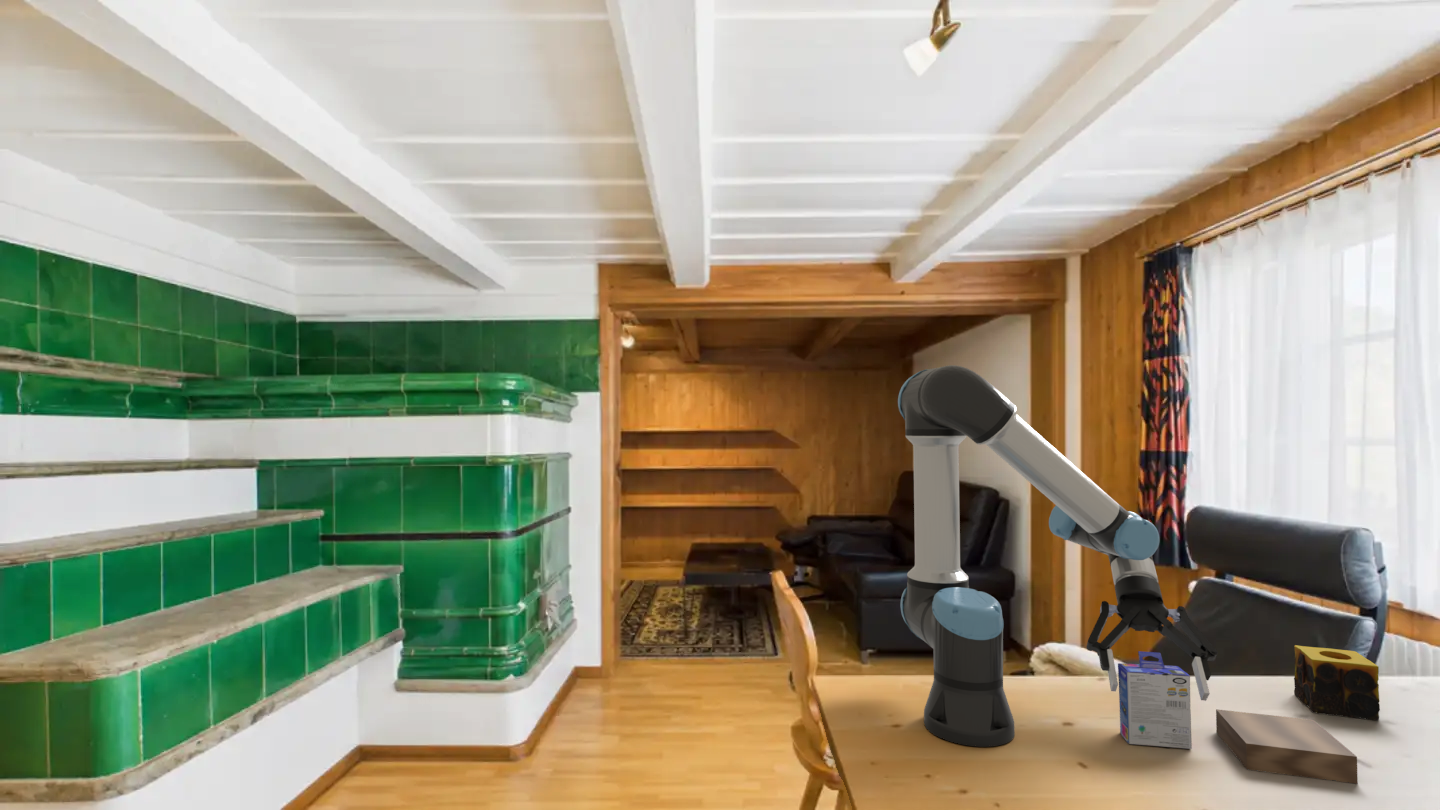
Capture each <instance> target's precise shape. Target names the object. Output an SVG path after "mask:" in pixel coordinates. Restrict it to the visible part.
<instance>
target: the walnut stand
mask: <svg viewBox="0 0 1440 810" xmlns="http://www.w3.org/2000/svg"><path fill="white" fill-rule="evenodd" d="M1215 714H1216V715H1215V717H1216V719H1215V721H1216V723H1215V724H1216V726H1215V727H1216V729H1215V730H1216V734H1217V733H1218V734H1217V735H1218V736H1219V737H1220V738H1221V740H1222V741H1223V742H1224V743H1225V745H1226V744H1227V745H1228V746H1227V747H1228V749H1229V750H1231V752H1232V753H1233V754H1234V756H1235V757H1236V756H1237V757H1236V758H1237V759H1238V760H1239V762H1240V761H1241V762H1240V763H1241V764H1242V765H1243V766H1244V768H1245V769H1246V770H1248V769H1249V770H1250V771H1256V770H1258V772H1263V771H1266V772H1265V773H1273V774H1280V775H1286V774H1287V775H1288V776H1293V777H1295V776H1296V777H1303V778H1309V777H1311V779H1317V778H1318V779H1319V780H1325V779H1326V781H1332V780H1336V781H1335V782H1341V783H1348V782H1349V783H1350V784H1355V785H1356V784H1358V781H1359V780H1358V756H1357V755H1356V754H1355V753H1353V752H1352V751H1351V750H1350V749H1348V748H1347V747H1346V746H1345V745H1344V744H1342V742H1340V741H1339V740H1338V739H1337V738H1335V737H1334V736H1333V735H1332V734H1331V733H1330V732H1329V731H1327V730H1326V729H1325V728H1324V727H1323V726H1321V725H1320V724H1319V723H1318V722H1317V721H1315V720H1314V719H1310V718H1309V719H1308V718H1300V717H1293V716H1292V717H1290V716H1289V717H1288V716H1282V715H1281V716H1279V715H1273V714H1261V713H1254V712H1243V711H1235V710H1225V709H1216V708H1215ZM1287 775H1286V776H1287Z"/></svg>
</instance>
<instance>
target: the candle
mask: <svg viewBox="0 0 1440 810" xmlns="http://www.w3.org/2000/svg"><path fill="white" fill-rule="evenodd" d="M1379 670H1380V669H1379V666H1378V665H1377V664H1375V663H1374V662H1372V661H1371V660H1369V659H1367V658H1366V657H1365V656H1363V655H1362V654H1360V653H1358V652H1357V651H1355V650H1349V649H1348V650H1347V649H1336V648H1330V647H1329V648H1328V647H1327V648H1326V647H1314V646H1304V645H1296V644H1295V645H1294V677H1293V681H1294V690H1293V695H1294V696H1295V697H1296V698H1297V699H1298V700H1299V701H1300V702H1301V703H1302V704H1303V705H1305V706H1306V707H1308V706H1309V707H1308V709H1309V711H1310V712H1312V713H1314V714H1321V715H1323V714H1324V715H1327V714H1328V716H1334V717H1335V716H1336V717H1347V718H1352V719H1361V720H1362V719H1364V720H1369V721H1371V720H1372V721H1379V720H1380V714H1379V713H1380V712H1381V709H1380V708H1381V707H1380V702H1381V701H1380V691H1379V690H1380V688H1379V687H1380V685H1379V680H1380V679H1379V672H1380V671H1379Z"/></svg>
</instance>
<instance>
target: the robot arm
mask: <svg viewBox="0 0 1440 810" xmlns="http://www.w3.org/2000/svg"><path fill="white" fill-rule="evenodd" d="M897 397H898V398H897V407H898V411H899V413H900V415H901V417H903V420H904V423H905V424H904V425H905V429H904V431H905V438H906V440H908V442H910V443H911V445H913V446H912V448H913V504H914V505H913V508H914V509H913V510H914V511H913V512H914V513H913V514H914V515H913V516H914V517H913V519H914V524H913V525H914V566H912V568H911V569H910V570H908V572H907V575H906V577H907V578H906V579H907V580H906V584H907V586H906V588H904V590H903V592H902V594H901V598H900V606H899V607H900V612H901V616H902V618H903V621H904V623H905V624H906V626H907V627H908V629H909V630H910V632H911V633H913V634H914V635H915V637H917V638H918V639H920V640H922V641H924V643H926V644H927V645H928V646H929V647H930V648H931V649H933V681H932V685H931V687H930V691H929V694H928V697H927V700H926V704H925V705H924V709H923V724H925V725H924V727H925V726H926V727H925V729H926V730H927V729H928V730H929V731H928V730H927V731H928V732H929V733H931V734H932V733H933V734H932V735H934V736H936V737H937V736H938V738H940V739H942V738H943V740H944V739H945V741H947V742H951V743H953V742H954V744H957V743H958V745H963V746H970V747H978V748H979V747H983V748H984V747H985V748H988V747H997V746H1002V745H1006V744H1007V743H1009V742H1012V740H1013V739H1014V738H1015V734H1016V733H1015V719H1014V716H1013V713H1012V710H1011V707H1010V704H1009V702H1008V699H1007V695H1006V692H1005V690H1004V640H1003V639H1004V627H1005V626H1004V625H1005V624H1004V623H1005V622H1004V618H1003V610H1002V605H1001V604H1000V602H999V601H998V600H997V599H996V597H994V596H992V595H991V594H989V593H987V592H985V591H978V590H977V589H974V588H970V585H969V584H970V583H969V576H968V575H969V574H967V573H965V571H964V570H963V569H962V567H961V533H960V532H961V531H960V529H961V527H960V526H961V525H960V524H961V523H960V522H961V521H960V465H959V463H960V460H959V459H960V457H959V453H960V452H959V451H960V450H959V446H960V444H961V443H962V442H963V441H964V440H965V439H967V437H968V438H969V439H971V440H972V441H973V442H974V443H975V444H977V445H986V446H987V448H988V447H989V449H990V450H991V451H993V452H994V453H995V454H996V455H997V456H999V457H1000V458H1001V459H1002V460H1003V461H1004V462H1005V463H1007V464H1008V465H1009V466H1011V468H1012V469H1013V470H1015V471H1016V472H1017V473H1018V474H1019V475H1021V476H1022V477H1023V478H1024V479H1025V480H1026V481H1027V482H1029V483H1030V484H1031V485H1032V486H1033V487H1035V488H1036V490H1038V491H1039V492H1040V493H1041V494H1042V495H1044V496H1045V497H1046V498H1047V499H1048V500H1050V502H1052V503H1053V505H1055V506H1054V507H1053V508H1052V509H1051V512H1050V515H1049V518H1048V527H1049V530H1050V532H1051V533H1052V534H1053V535H1054V536H1055V537H1058V538H1061V539H1063V540H1064V541H1068V542H1072V543H1074V544H1077V545H1080V546H1083V547H1085V548H1087V549H1091V550H1094V551H1096V552H1098V553H1101V554H1104V555H1107V556H1108V560H1109V565H1110V569H1111V575H1112V580H1113V585H1114V591H1115V596H1116V603H1117V604H1116V605H1114V604H1109V602H1108V601H1106V600H1102V601H1101V603H1100V604H1101V605H1100V609H1099V616H1098V618H1097V620H1096V622H1095V624H1094V626H1093V629H1092V630H1091V633H1090V635H1089V637H1088V639H1087V643H1086V650H1087V651H1089V652H1095V653H1097V654H1096V655H1097V656H1098V659H1099V664H1100V669H1101V670H1102V671H1105V672H1107V675H1108V681H1109V686H1110V691H1111V692H1117V689H1118V687H1119V681H1118V678H1117V677H1118V676H1117V671H1116V664H1115V660H1114V659H1115V658H1114V654H1113V649H1112V647H1113V646H1114V645H1115V644H1116V643H1117V642H1118V640H1119V639H1120V638H1121V637H1122V636H1123V635H1124V634H1126V633H1127V632H1128V631H1129V630H1130V629H1133V630H1134V631H1136V632H1142V631H1145V632H1149V633H1155V632H1158V633H1159V634H1160V635H1161V636H1163V637H1166V638H1167V639H1168V640H1170V641H1171V642H1172V643H1173V644H1175V645H1176V647H1178V648H1179V649H1181V650H1182V651H1183V652H1184V653H1185V654H1186V655H1188V656H1189V657H1190V658H1191V659H1192V663H1191V667H1192V670H1193V675H1194V678H1195V682H1196V685H1197V689H1198V690H1197V691H1198V694H1199V698H1200V701H1205V702H1206V701H1207V699H1209V698H1208V697H1209V696H1210V690H1209V689H1210V688H1209V686H1208V683H1207V682H1208V681H1209V680H1210V678H1211V675H1212V672H1211V669H1210V665H1209V662H1214V661H1215V660H1216V658H1217V656H1218V653H1219V651H1218V650H1217V648H1216V647H1215V646H1214V645H1213V643H1211V642H1210V640H1208V638H1207V637H1206V635H1204V633H1202V631H1201V630H1200V629H1199V628H1198V626H1197V625H1196V624H1195V623H1194V622H1193V621H1192V620H1191V618H1190V617H1189V616H1188V613H1187V611H1186V610H1187V609H1186V608H1185V607H1184V606H1182V605H1179V606H1178V607H1177V608H1167V607H1166V606H1165V604H1164V600H1163V595H1162V591H1161V586H1160V584H1159V578H1158V577H1159V576H1158V575H1157V571H1156V565H1155V562H1154V559H1153V555H1154V554H1155V553H1156V551H1157V550H1158V548H1159V546H1160V534H1159V531H1158V529H1157V527H1156V526H1155V525H1154V524H1153V522H1152V521H1151V522H1150V520H1147V519H1144V518H1143V517H1141V516H1140V515H1139V514H1138V513H1136V512H1133V511H1130V510H1129V511H1128V510H1126V508H1124V507H1123V505H1121V504H1120V503H1118V502H1117V501H1116V500H1115V499H1114V498H1112V497H1111V496H1110V495H1109V494H1108V493H1107V492H1106V491H1104V490H1103V489H1102V488H1101V487H1100V486H1099V485H1098V484H1097V483H1095V482H1094V481H1093V479H1091V478H1090V477H1088V476H1087V475H1086V474H1085V472H1083V471H1081V469H1079V468H1078V467H1077V466H1076V465H1074V463H1073V462H1072V461H1070V460H1069V459H1068V458H1067V457H1066V456H1064V454H1063V453H1061V452H1060V451H1059V450H1058V449H1057V448H1056V447H1054V446H1053V445H1052V444H1051V443H1050V442H1049V441H1047V440H1046V439H1045V438H1044V437H1043V436H1042V435H1041V434H1040V433H1038V432H1037V431H1036V430H1035V429H1034V428H1033V427H1031V425H1030V424H1028V423H1027V422H1026V421H1025V420H1024V419H1023V418H1022V417H1021V416H1019V414H1017V406H1016V405H1015V403H1013V402H1012V401H1011V400H1010V399H1009V398H1008V397H1007V396H1006V395H1004V394H1003V393H1002V392H1001V391H1000V390H999V389H997V388H996V387H995V386H994V385H993V384H992V383H990V382H989V381H988V380H986V379H985V378H984V377H982V376H981V375H980V374H978V373H976V371H974V370H972V369H970V368H967V367H964V366H961V365H955V364H953V365H951V364H949V365H944V366H940V367H935V368H927V369H923V370H920V371H918V372H916V373H915V374H913V375H912V376H910V377H908V379H906V381H904V382H903V384H902V386H901V388H900V390H899V393H898V396H897ZM1114 614H1117V616H1118V617H1119V618H1120V619H1121V620H1120V621H1119V623H1118V624H1116V625H1115V627H1113V629H1112V630H1111V631H1110V632H1109V633H1108V634H1107V635H1106V636H1105V637H1104V639H1102V640H1101V641H1100V642H1099V641H1098V640H1099V639H1100V636H1101V634H1102V632H1103V630H1104V628H1105V626H1106V623H1107V620H1108V618H1110V617H1113V615H1114ZM1168 617H1169V618H1171V619H1173V622H1174V623H1177V625H1179V627H1180V628H1181V630H1182V631H1183V632H1184V633H1185V634H1184V633H1182V632H1181V631H1180V630H1179V629H1177V627H1175V626H1174V624H1173V623H1172V621H1171V620H1169V619H1168Z"/></svg>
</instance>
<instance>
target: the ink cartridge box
mask: <svg viewBox="0 0 1440 810" xmlns="http://www.w3.org/2000/svg"><path fill="white" fill-rule="evenodd" d="M1137 653H1138V662H1139V663H1138V664H1137V663H1120V662H1119V663H1117V674H1118V676H1117V677H1118V678H1117V679H1118V699H1119V733H1120V735H1121V737H1122V738H1123V739H1124V740H1125V741H1126V743H1127V744H1130V745H1139V746H1151V747H1165V748H1173V749H1174V748H1175V749H1177V748H1178V749H1187V750H1191V749H1192V747H1193V746H1192V745H1193V743H1192V712H1191V676H1190V674H1188V672H1186V671H1184V669H1182V668H1181V667H1180V666H1178V665H1166V664H1164V661H1163V657H1162V654H1161V652H1155V651H1154V652H1153V651H1137ZM1145 657H1153V658H1155V659H1158V661H1155V660H1145V659H1143V658H1145Z"/></svg>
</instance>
